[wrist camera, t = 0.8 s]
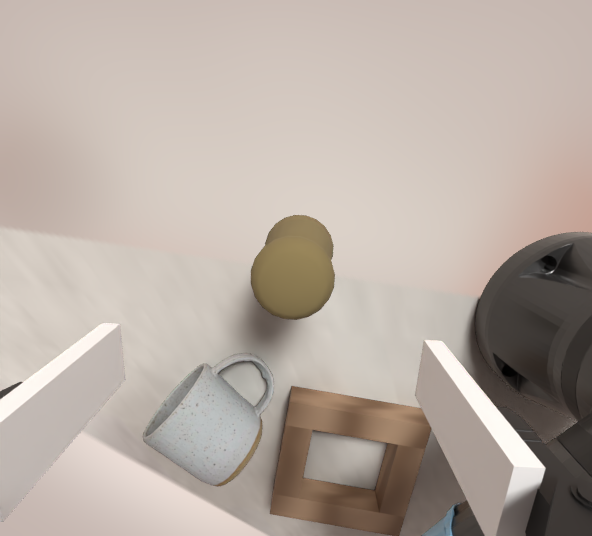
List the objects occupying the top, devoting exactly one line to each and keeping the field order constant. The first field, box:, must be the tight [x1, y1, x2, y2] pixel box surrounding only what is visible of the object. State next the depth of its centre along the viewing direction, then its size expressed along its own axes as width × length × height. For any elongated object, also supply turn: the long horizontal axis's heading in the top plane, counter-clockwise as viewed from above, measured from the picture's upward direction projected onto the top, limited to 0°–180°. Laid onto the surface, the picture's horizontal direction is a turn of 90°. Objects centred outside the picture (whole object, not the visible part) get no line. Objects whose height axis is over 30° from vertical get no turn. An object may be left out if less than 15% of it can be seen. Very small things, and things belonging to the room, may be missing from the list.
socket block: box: [270, 386, 432, 536], centre depth 34 cm, size 13×13×2 cm
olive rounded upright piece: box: [251, 215, 335, 320], centre depth 25 cm, size 6×6×11 cm
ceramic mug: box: [143, 353, 274, 486], centre depth 31 cm, size 11×8×8 cm
